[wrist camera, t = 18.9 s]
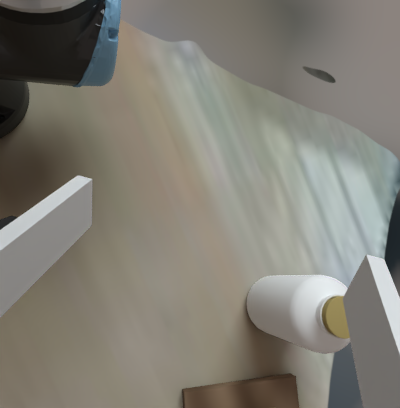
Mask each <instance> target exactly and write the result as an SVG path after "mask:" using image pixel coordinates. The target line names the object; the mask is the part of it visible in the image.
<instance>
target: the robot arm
mask: <svg viewBox="0 0 400 408" xmlns="http://www.w3.org/2000/svg"><path fill="white" fill-rule="evenodd" d="M120 12H121V0H0V138H1V137H3V136H5V135H6V134H8V133H9V132H10V131H12V130H13V129H14V128H15V127H16V126H17V125H18V124H19V123H20V121H21V120H22V118H23V117H24V115H25V113H26V110H27V107H28V103H29V89H28V85H27V82H35V83H45V84H56V85H67V86H73V87H80V86H103V85H105V84H107V83H108V82H109V81H110V80H111V79H112V76H113V73H114V69H115V63H116V56H117V47H118V33H119V24H120ZM91 226H92V179H90V178H86V177H83V176H79V175H78V176H76V177H75V178H73V179H72V180H70V181H69V182H68V183H66V184H65V185H63V186H62V187H61V188H59V189H58V190H56V191H55V192H53V193H52V194H51V195H49V196H48V197H46V198H45V199H44V200H42V201H41V202H39V203H38V204H36V205H35V206H34V207H32V208H31V209H29V210H28V211H27V212H25V213H24V214H22V215H21V216H19V217H14V216H9V217H7V218H4V219H1V220H0V318H1V317H2V316H3V315H4V314H5V313H6V312H7V311H8V310H9V308H10V307H11V306H12V305H13V304H14V303H15V302H16V301H17V300H18V299H19V298H20V297H21V296H22V295H23V294H24V293H25V292H26V291H27V290H28V289H29V288H30V287H31V286H32V285H33V284H34V283H35V282H36V281H37V280H38V279H39V278H40V277H41V276H42V275H43V274H44V273H45V272H46V271H47V270H48V269H49V268H50V267H51V266H52V265H53V264H54V263H55V262H56V261H57V260H58V259H59V258H60V257H61V256H62V255H63V254H64V253H65V252H66V251H67V250H68V249H69V248H70V247H71V246H72V245H73V244H74V243H75V242H76V241H77V240H78V239H79V238H80V237H81V236H82V235H83V234H84V233H85V232H86V231H87V230H88V229H89V228H90V227H91ZM343 304H344V309H345V315H346V320H347V325H348V330H349V335H350V341H351V346H352V351H353V356H354V361H355V367H356V372H357V376H358V382H359V387H360V392H361V397H362V403H363V408H400V298H399V295H398V293H397V290H396V288H395V285H394V283H393V280H392V278H391V275H390V273H389V270H388V268H387V266H386V263H385V260H384V259H381V258H378V257H374V256H370V255H367V254H366V256H365V258H364V260H363V261H362V263H361V265H360V267H359V269H358V271H357V273H356V275H355V276H354V278H353V280H352V282H351V284H350V286H349V288H348V289H347V291H346V293H345V295H344V297H343Z"/></svg>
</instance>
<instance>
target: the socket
mask: <svg viewBox="0 0 400 408" xmlns="http://www.w3.org/2000/svg"><path fill="white" fill-rule="evenodd" d="M183 408H299V402H298V393H297V385H296V376H294V375H292V374H284V375H277V376H270V377H263V378H256V379H249V380H242V381H235V382H228V383H221V384H214V385H207V386H200V387H193V388H186V389H183Z"/></svg>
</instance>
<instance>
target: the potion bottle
mask: <svg viewBox="0 0 400 408" xmlns="http://www.w3.org/2000/svg"><path fill="white" fill-rule="evenodd" d="M347 289H348V288H347V287H346V286H345V285H344V284H343V283H341V282H340V281H338V280H336V279H335V278H332V277H328V276H324V275H275V276H265V277H263V278H261V279H259V280H258V281H257V282H256V283H255V284H254V285H253V286H252V287H251V289H250V291H249V293H248V297H247V312H248V314H249V317H250V319H251V321H252V322H253V323H254V324H255V326H256V327H257V328H259V329H260V330H262V331H264V332H265V333H268V334H270V335H273V336H276V337H278V338H281V339H283V340H286V341H288V342H291V343H293V344H296V345H298V346H301V347H303V348H306V349H308V350H311V351H314V352H319V353H323V354H326V353H332V352H337V351H339V350H341V349H342V348H344V347H345V346H347V344H348V343H349V342H350V335H349V330H348V325H347V320H346V315H345V309H344V304H343V297H344V295H345V293H346V291H347Z"/></svg>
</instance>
